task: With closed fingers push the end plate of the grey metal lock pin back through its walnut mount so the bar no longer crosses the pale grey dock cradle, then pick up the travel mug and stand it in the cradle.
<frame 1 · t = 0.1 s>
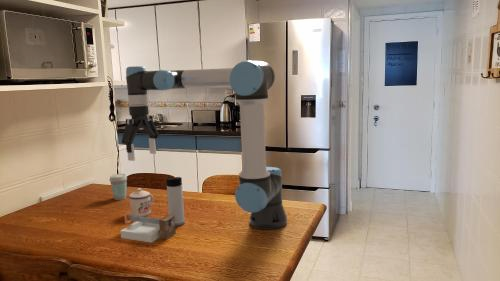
hand: (142, 156, 160), 28 cm above the table, fingers open, 13 cm apart
pin mount: (168, 236, 148), on the table
lock pin: (149, 220, 150), point 6 cm above the table, slide at 0.0 cm
teacup with lid: (143, 213, 175), on the table
travel mug: (177, 224, 161), on the table
dock cradle: (147, 233, 152), on the table
coffee cup: (120, 198, 197), on the table
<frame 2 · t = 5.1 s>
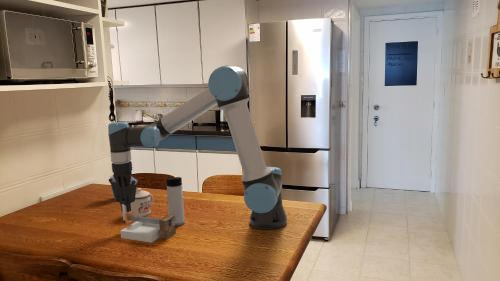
hand: (127, 219, 155), 5 cm above the table, fingers closed
lock pin: (150, 220, 150), point 6 cm above the table, slide at 0.3 cm, touching gripper
everything else where it was.
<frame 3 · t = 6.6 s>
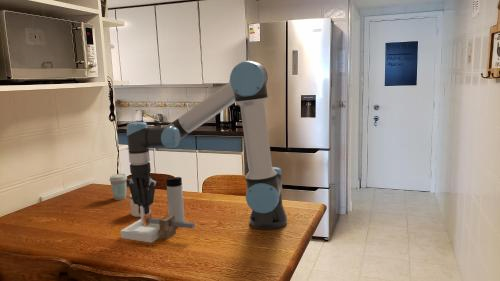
hand: (145, 221, 151), 5 cm above the table, fingers closed
lock pin: (169, 222, 147), point 6 cm above the table, slide at 9.0 cm, touching gripper
everything else where it was.
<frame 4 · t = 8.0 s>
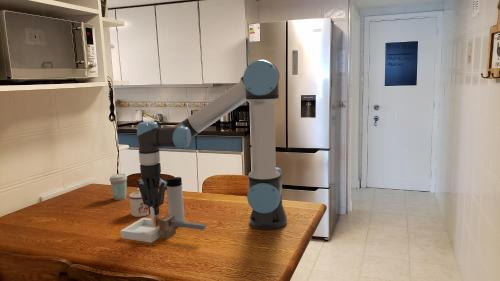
hand: (154, 222, 150), 5 cm above the table, fingers closed
lock pin: (179, 224, 145), point 6 cm above the table, slide at 13.7 cm, touching gripper
everything else where it was.
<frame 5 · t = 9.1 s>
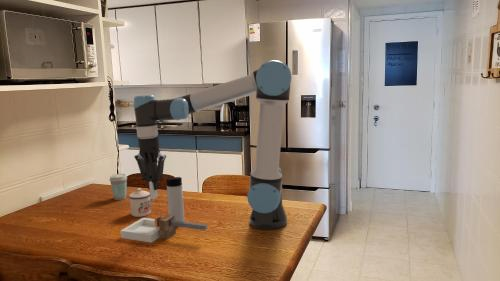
hand: (154, 197, 148), 15 cm above the table, fingers closed
lock pin: (181, 224, 145), point 5 cm above the table, slide at 14.3 cm
everything else where it was.
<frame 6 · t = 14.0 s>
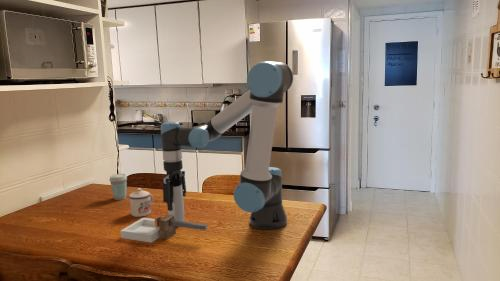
hand: (176, 214, 160), 4 cm above the table, fingers closed on travel mug, 6 cm apart
travel mug: (177, 224, 161), on the table, touching gripper
everything else where it was.
when the fingers open (7 cm above the table, at t = 20.7 s): travel mug drops 2 cm, resting on dock cradle.
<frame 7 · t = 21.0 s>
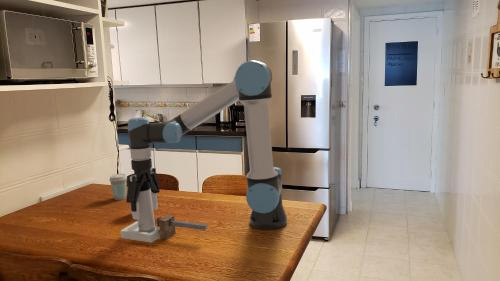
hand: (145, 213, 151), 8 cm above the table, fingers open, 11 cm apart
travel mug: (147, 230, 152), point 1 cm above the table, touching dock cradle
everything else where it was.
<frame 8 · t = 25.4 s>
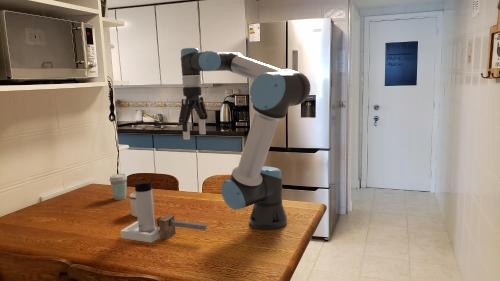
hand: (195, 136, 164), 35 cm above the table, fingers open, 13 cm apart
nothing on the table moved.
at the end: lock pin slide at 14.3 cm; travel mug inside the target area on the dock cradle (0.1 cm from its centre), point 0.8 cm above the dock cradle's base; travel mug tilted 0° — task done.
